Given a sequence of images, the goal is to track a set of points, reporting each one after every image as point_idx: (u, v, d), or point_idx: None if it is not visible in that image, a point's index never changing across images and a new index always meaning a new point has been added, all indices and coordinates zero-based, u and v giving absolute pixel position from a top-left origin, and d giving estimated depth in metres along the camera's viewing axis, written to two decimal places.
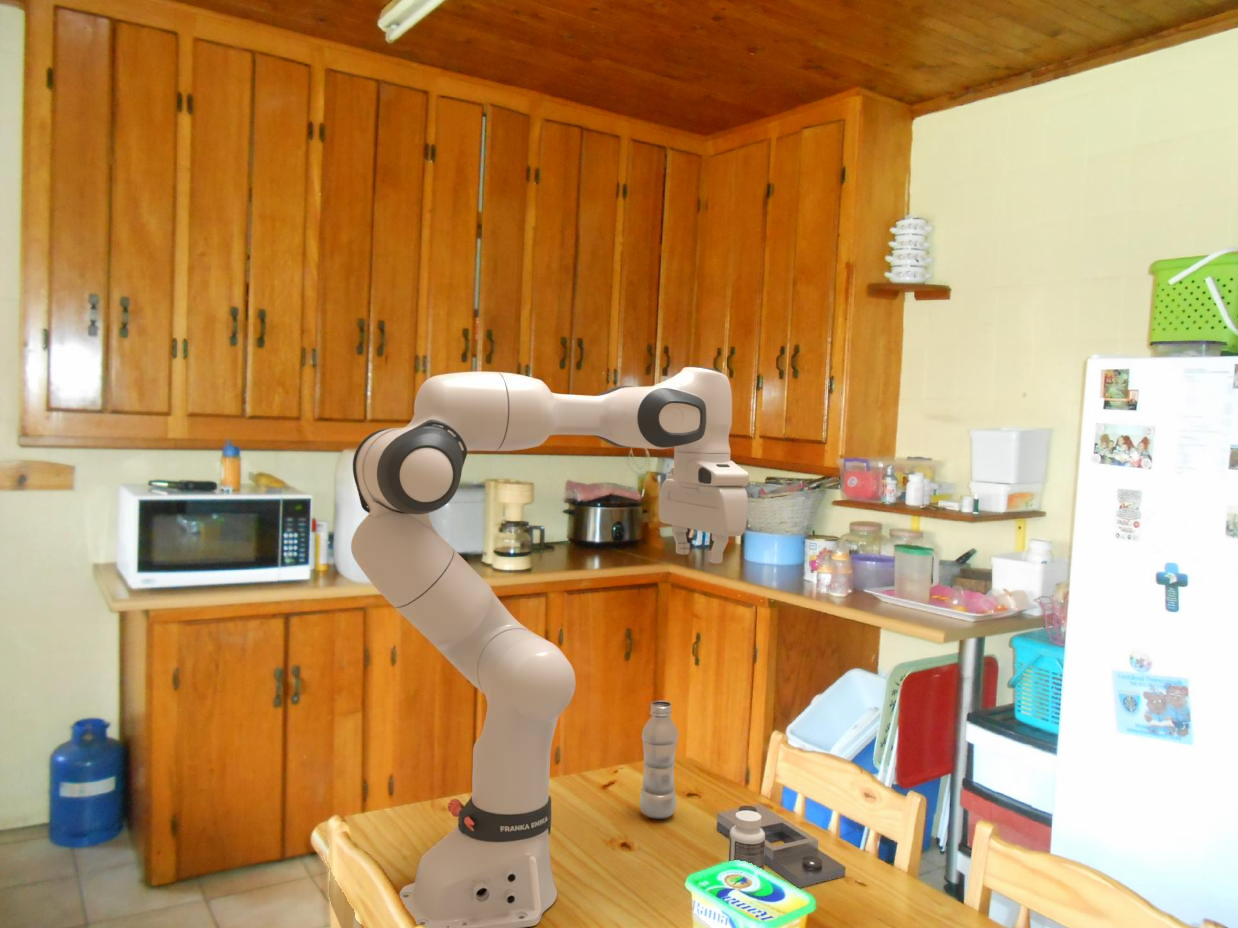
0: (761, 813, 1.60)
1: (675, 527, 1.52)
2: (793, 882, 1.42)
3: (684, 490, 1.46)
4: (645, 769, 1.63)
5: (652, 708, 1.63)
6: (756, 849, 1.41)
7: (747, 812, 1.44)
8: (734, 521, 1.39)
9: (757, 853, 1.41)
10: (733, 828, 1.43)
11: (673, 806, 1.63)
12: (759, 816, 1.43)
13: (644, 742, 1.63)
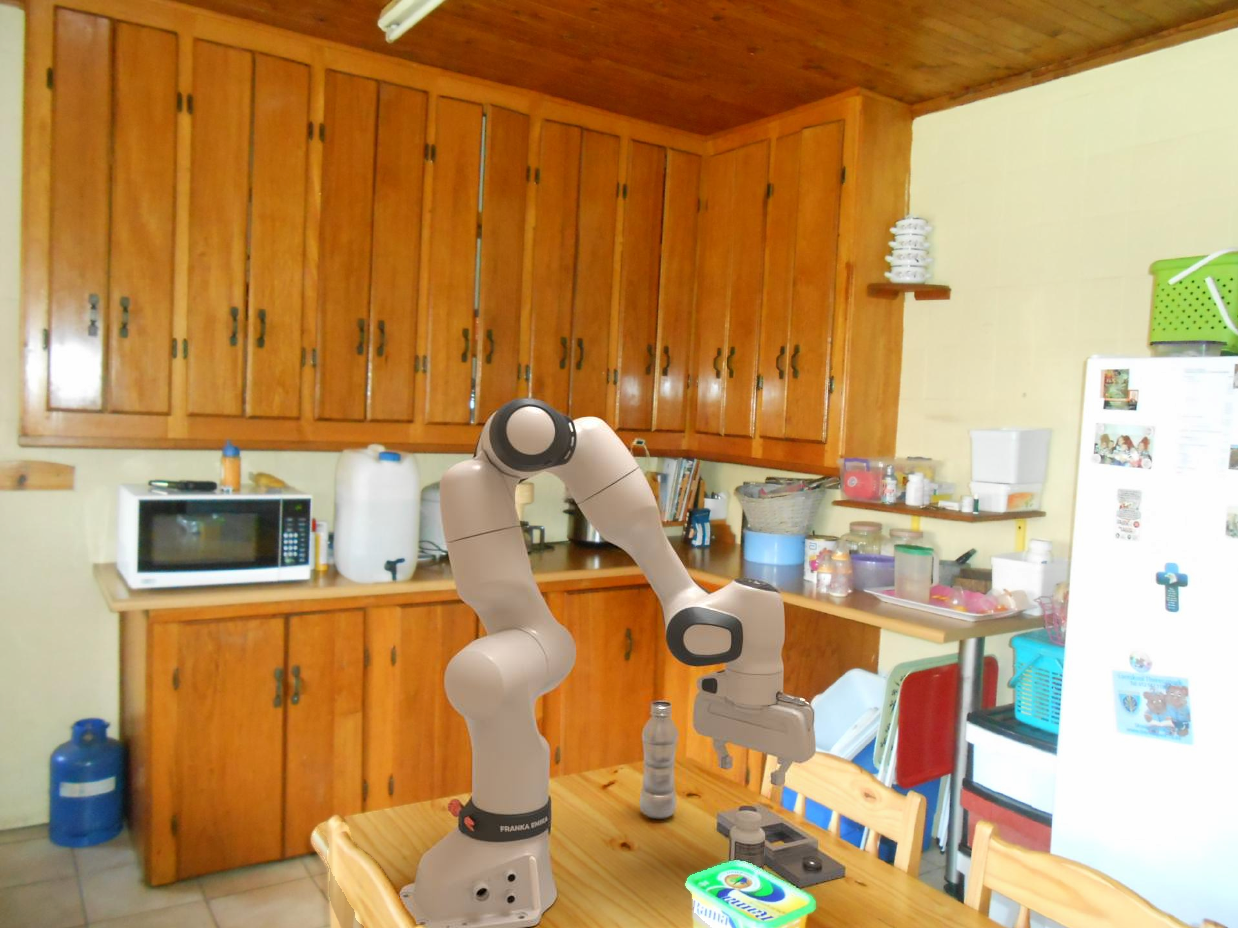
0: (761, 813, 1.60)
1: None
2: (793, 882, 1.42)
3: None
4: (645, 769, 1.63)
5: (652, 708, 1.63)
6: (756, 849, 1.41)
7: (747, 812, 1.44)
8: None
9: (757, 853, 1.41)
10: (733, 828, 1.43)
11: (673, 806, 1.63)
12: (759, 816, 1.43)
13: (644, 742, 1.63)
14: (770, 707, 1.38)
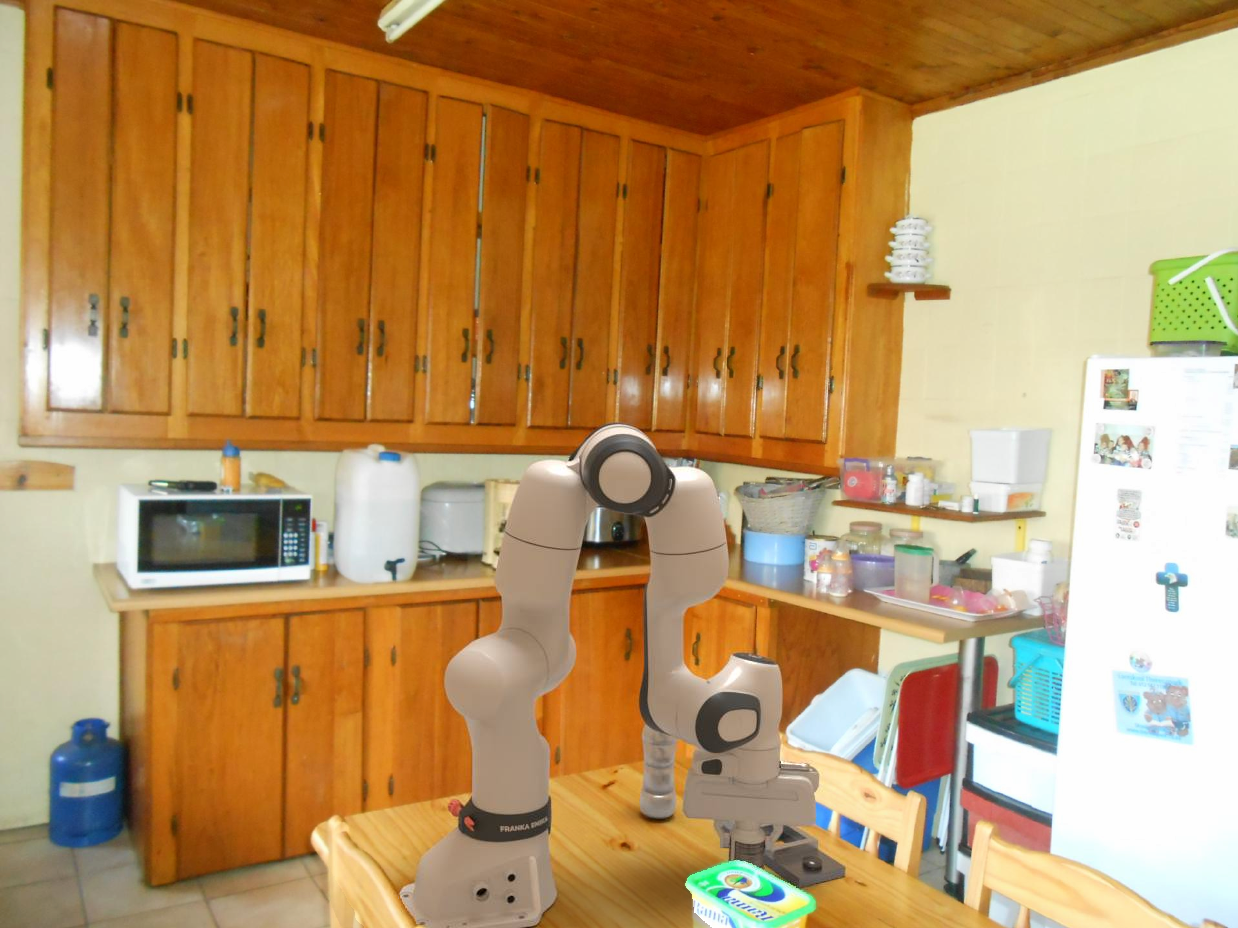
0: None
1: None
2: (793, 882, 1.42)
3: None
4: (645, 769, 1.63)
5: None
6: (756, 849, 1.41)
7: None
8: None
9: (757, 853, 1.41)
10: (733, 828, 1.43)
11: (673, 806, 1.63)
12: None
13: (644, 742, 1.63)
14: (778, 778, 1.40)
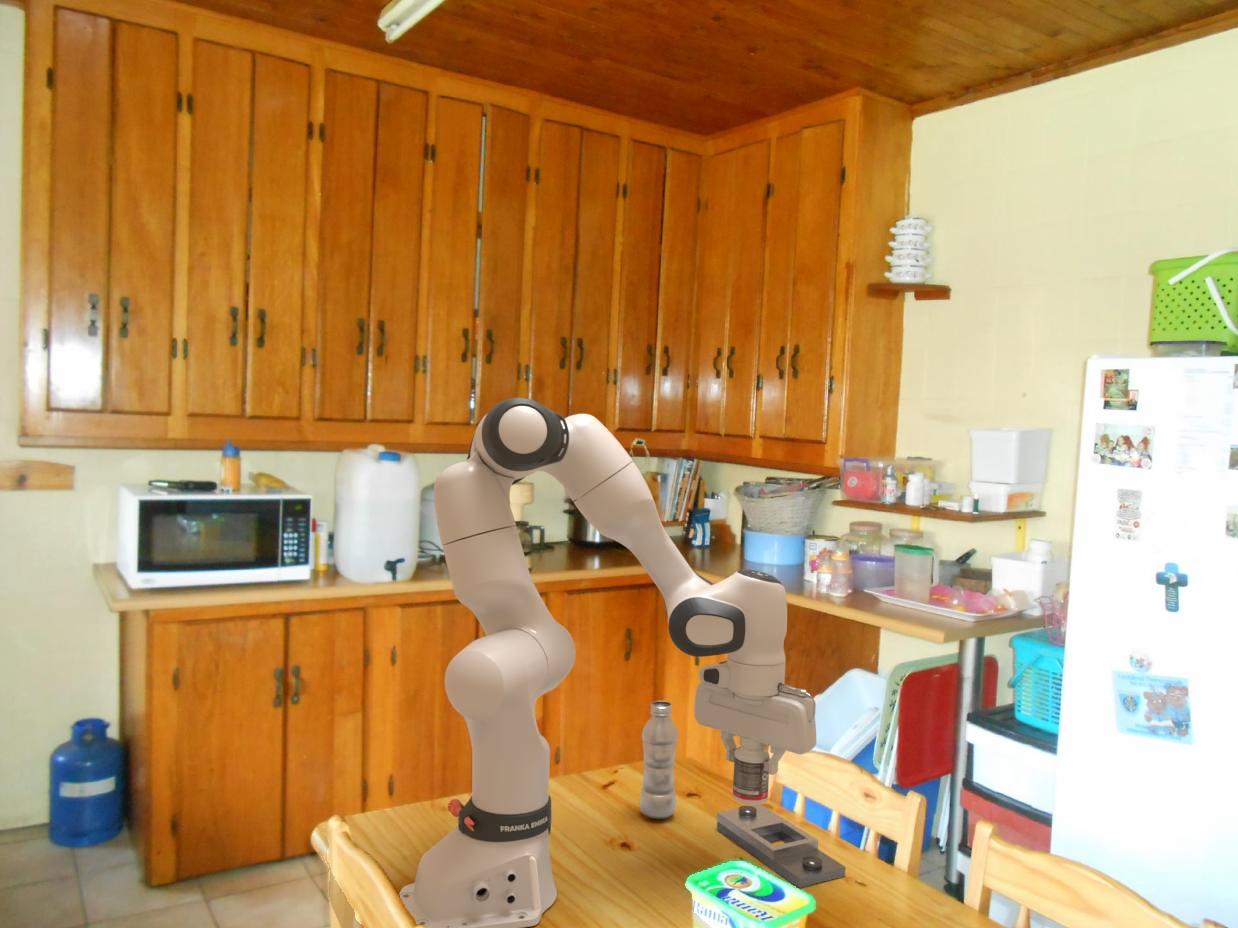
0: (761, 813, 1.60)
1: None
2: (793, 882, 1.42)
3: None
4: (645, 769, 1.63)
5: (652, 708, 1.63)
6: (749, 769, 1.40)
7: None
8: None
9: (751, 773, 1.40)
10: None
11: (673, 806, 1.63)
12: None
13: (644, 742, 1.63)
14: (771, 698, 1.38)
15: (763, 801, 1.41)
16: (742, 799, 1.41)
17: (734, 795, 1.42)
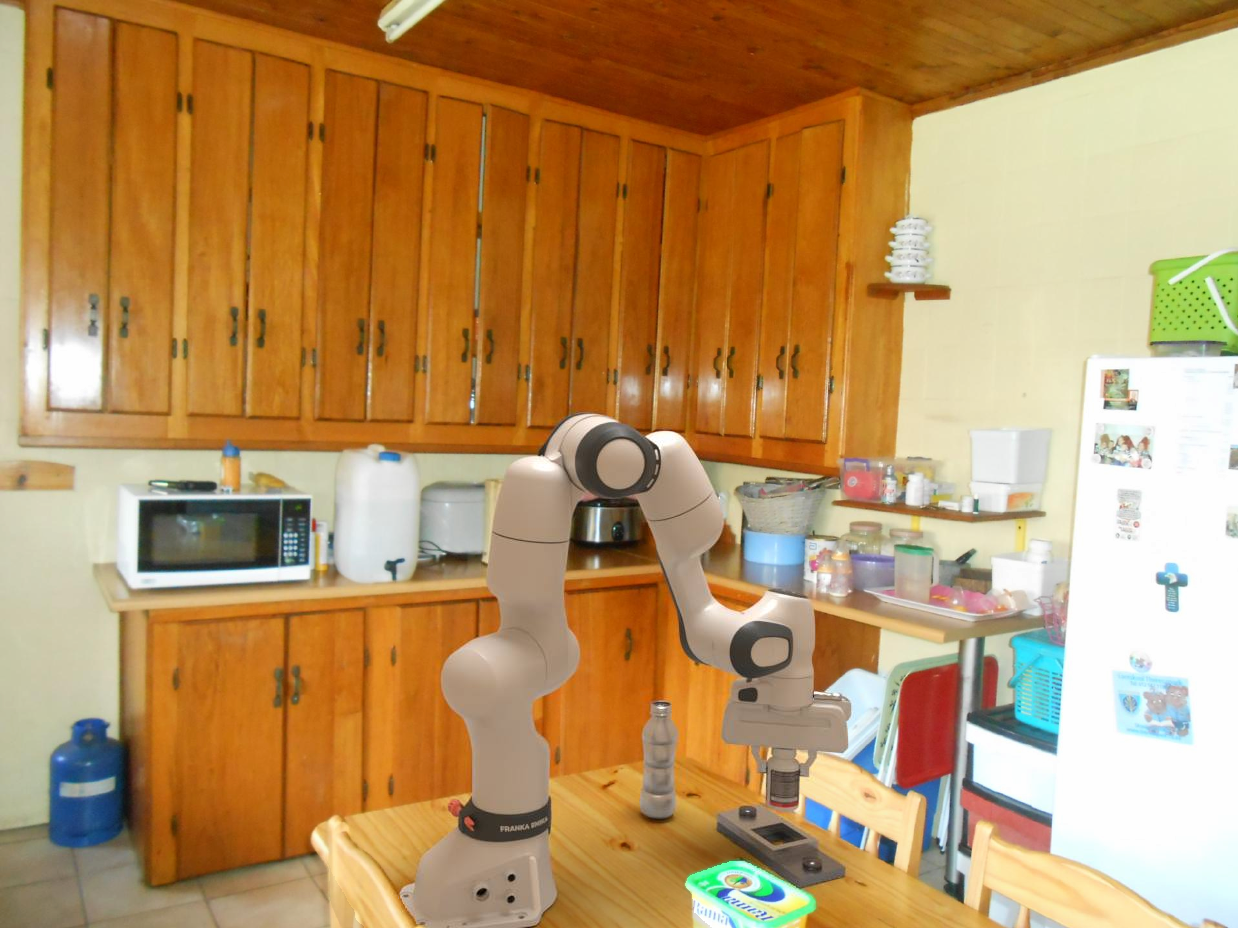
0: (761, 813, 1.60)
1: None
2: (793, 882, 1.42)
3: None
4: (645, 769, 1.63)
5: (652, 708, 1.63)
6: (790, 777, 1.49)
7: None
8: None
9: (792, 781, 1.49)
10: (770, 758, 1.52)
11: (673, 806, 1.63)
12: None
13: (644, 742, 1.63)
14: (811, 706, 1.49)
15: (798, 805, 1.51)
16: (784, 807, 1.49)
17: (773, 805, 1.50)
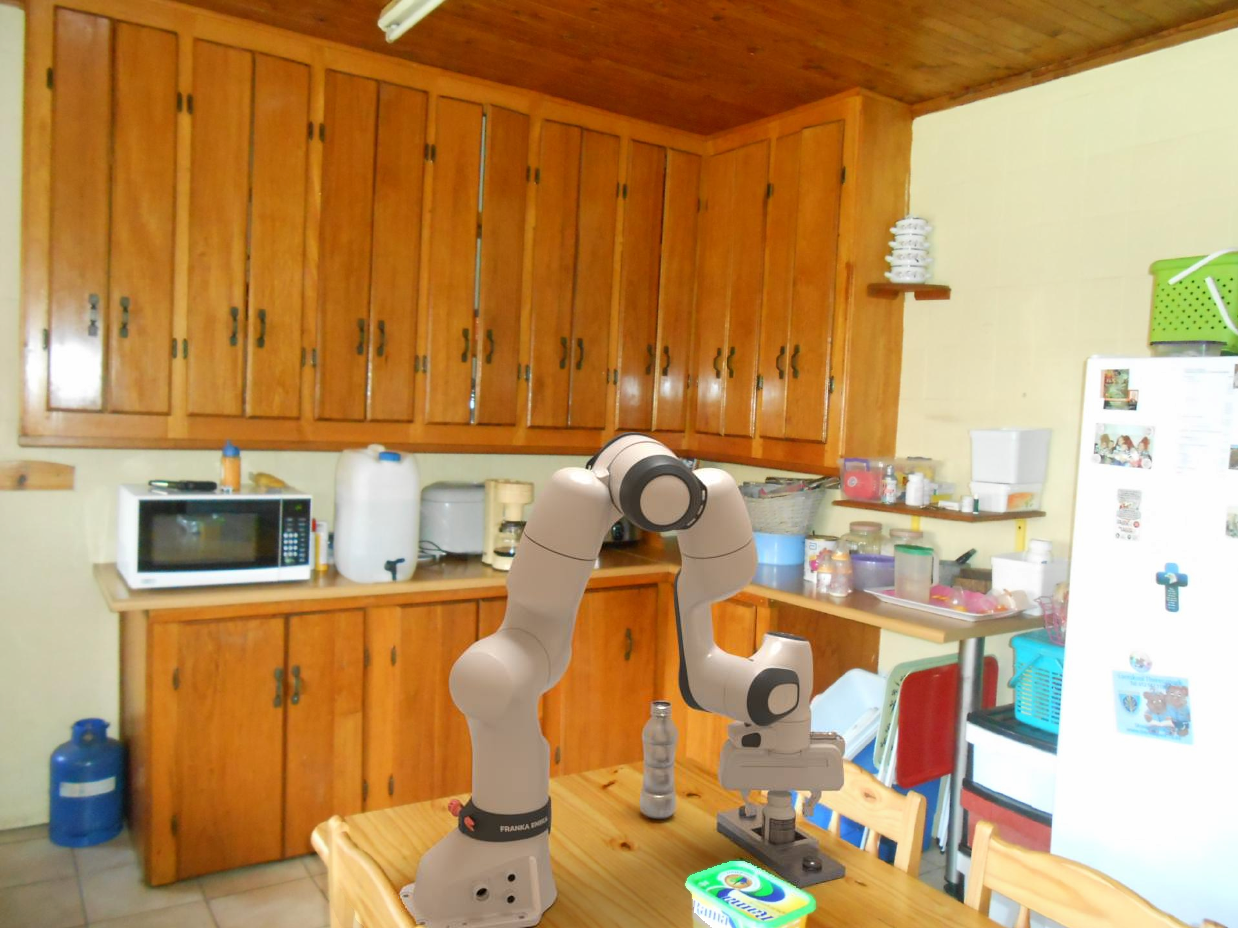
0: (761, 813, 1.60)
1: None
2: (793, 882, 1.42)
3: None
4: (645, 769, 1.63)
5: (652, 708, 1.63)
6: (789, 824, 1.50)
7: None
8: (719, 771, 1.52)
9: (790, 828, 1.50)
10: (766, 806, 1.52)
11: (673, 806, 1.63)
12: (790, 793, 1.52)
13: (644, 742, 1.63)
14: (810, 747, 1.50)
15: None
16: None
17: None
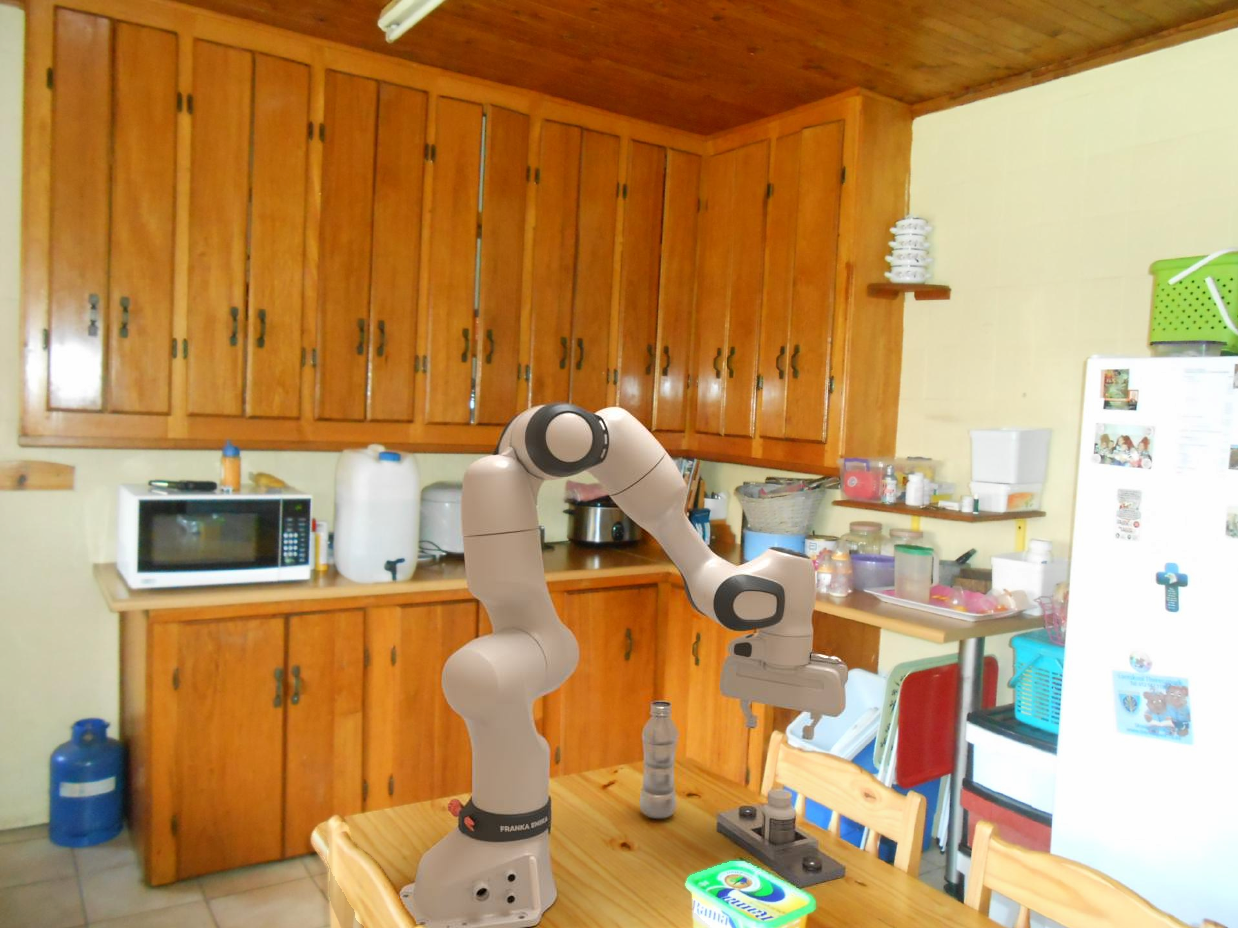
0: (761, 813, 1.60)
1: None
2: (793, 882, 1.42)
3: None
4: (645, 769, 1.63)
5: (652, 708, 1.63)
6: (789, 825, 1.50)
7: (778, 790, 1.53)
8: None
9: (790, 828, 1.50)
10: (766, 806, 1.52)
11: (673, 806, 1.63)
12: (790, 793, 1.52)
13: (644, 742, 1.63)
14: (805, 667, 1.47)
15: None
16: None
17: None
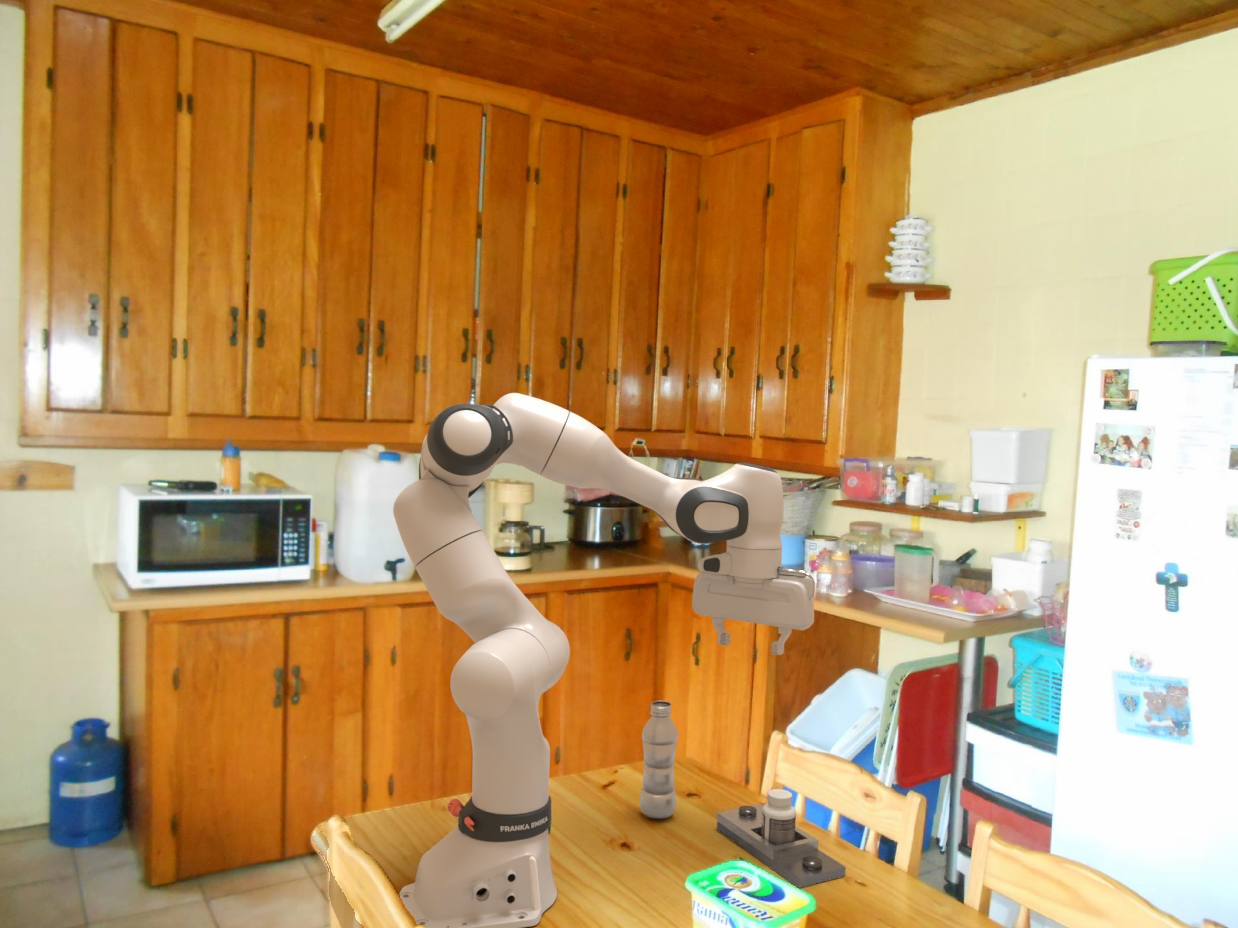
0: (761, 813, 1.60)
1: None
2: (793, 882, 1.42)
3: None
4: (645, 769, 1.63)
5: (652, 708, 1.63)
6: (789, 825, 1.50)
7: (777, 790, 1.53)
8: None
9: (790, 828, 1.50)
10: (766, 806, 1.52)
11: (673, 806, 1.63)
12: (790, 793, 1.52)
13: (644, 742, 1.63)
14: (772, 580, 1.47)
15: None
16: None
17: None
